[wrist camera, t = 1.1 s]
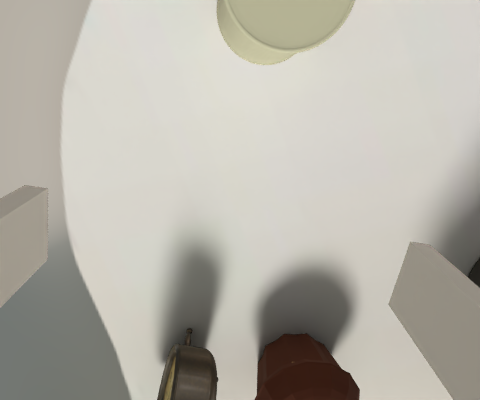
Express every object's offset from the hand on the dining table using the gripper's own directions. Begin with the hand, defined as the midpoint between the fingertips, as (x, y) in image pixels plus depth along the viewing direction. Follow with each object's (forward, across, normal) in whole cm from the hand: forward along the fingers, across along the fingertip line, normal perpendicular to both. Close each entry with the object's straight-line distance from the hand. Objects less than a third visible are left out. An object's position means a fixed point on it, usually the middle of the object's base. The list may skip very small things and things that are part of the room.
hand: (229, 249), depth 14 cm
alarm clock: (+25, +1, +27) cm, 37 cm away
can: (+27, -2, -12) cm, 29 cm away
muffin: (+25, -12, +26) cm, 39 cm away
